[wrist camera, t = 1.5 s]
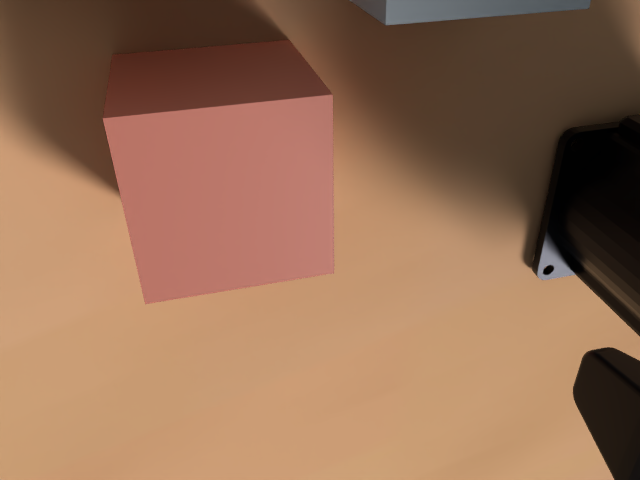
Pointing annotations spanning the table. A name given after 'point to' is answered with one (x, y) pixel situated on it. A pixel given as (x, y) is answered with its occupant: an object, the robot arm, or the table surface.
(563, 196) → the robot arm
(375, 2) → the slate cube
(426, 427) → the table surface
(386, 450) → the table surface
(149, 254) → the red cube
